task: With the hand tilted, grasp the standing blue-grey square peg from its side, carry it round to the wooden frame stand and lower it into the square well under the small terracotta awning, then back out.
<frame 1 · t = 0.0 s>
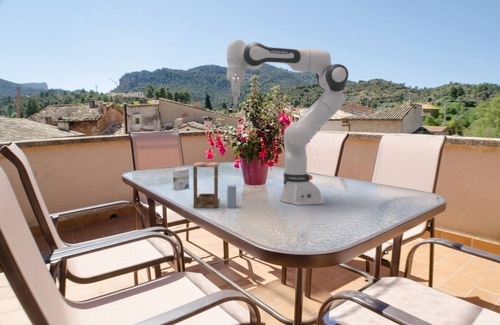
hand: (235, 104, 146), 48 cm above the table, tool pointing down, fingers open, 8 cm apart
wooden frame stand: (207, 203, 145), on the table
ink box: (181, 188, 178), on the table
peg: (231, 206, 141), on the table
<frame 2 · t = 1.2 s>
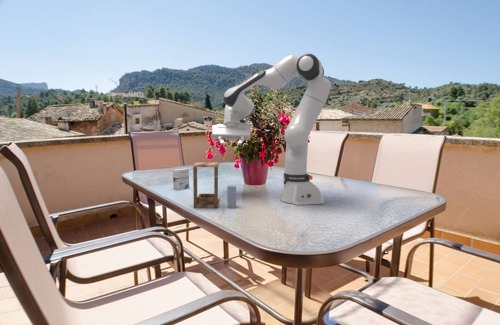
hand: (231, 144, 152), 28 cm above the table, tool tilted 45°, fingers open, 8 cm apart
nothing on the table moved.
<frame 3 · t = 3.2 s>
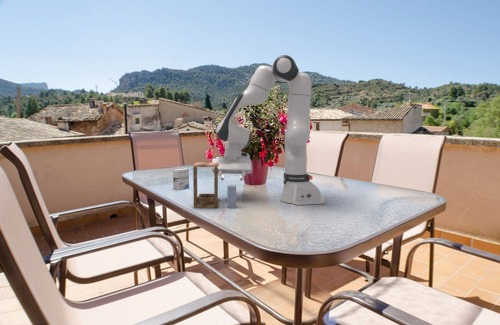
hand: (231, 179, 146), 12 cm above the table, tool tilted 45°, fingers open, 8 cm apart
nothing on the table moved.
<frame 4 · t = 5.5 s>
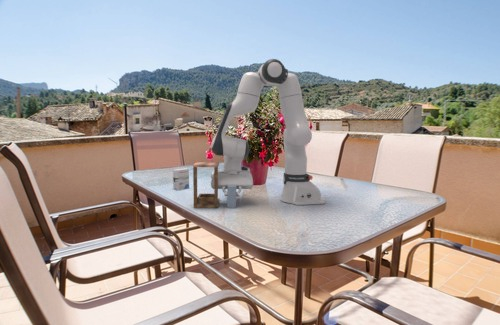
hand: (231, 195, 139), 5 cm above the table, tool tilted 45°, fingers closed on peg, 4 cm apart
peg: (231, 206, 141), on the table, touching gripper
everything else where it was.
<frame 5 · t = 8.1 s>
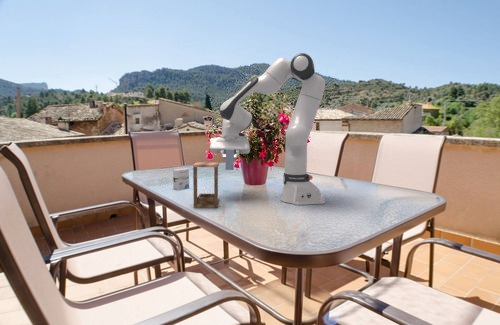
hand: (229, 158, 148), 22 cm above the table, tool tilted 45°, fingers closed on peg, 4 cm apart
peg: (229, 169, 149), point 16 cm above the table, touching gripper
everything else where it was.
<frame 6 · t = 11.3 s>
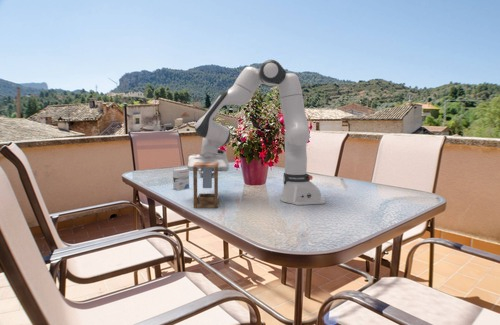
hand: (207, 177, 144), 13 cm above the table, tool tilted 45°, fingers closed on peg, 4 cm apart
peg: (207, 187, 145), point 8 cm above the table, tilted 8°, touching gripper
everything else where it was.
when the fingers open (7 cm above the table, at t = 13.2 s): peg stays where it is, resting on wooden frame stand.
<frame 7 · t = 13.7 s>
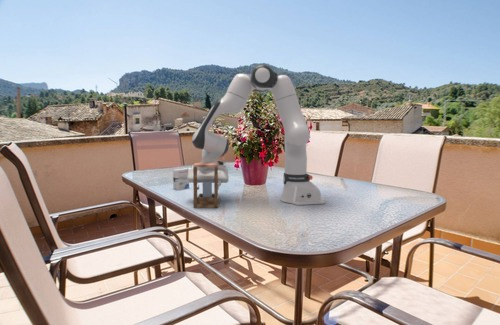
hand: (207, 189, 143), 7 cm above the table, tool tilted 45°, fingers open, 8 cm apart
peg: (207, 202, 144), point 1 cm above the table, touching wooden frame stand
everything else where it was.
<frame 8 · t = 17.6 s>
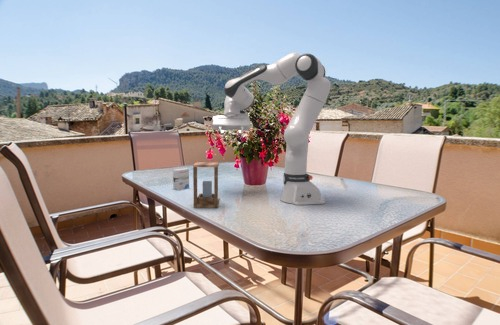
hand: (231, 134, 155), 33 cm above the table, tool tilted 45°, fingers open, 8 cm apart
nothing on the table moved.
at the end: peg 0.7 cm off-centre on the wooden frame stand, point 1.0 cm above the wooden frame stand's base; peg tilted 0°; the gripper is holding nothing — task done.
